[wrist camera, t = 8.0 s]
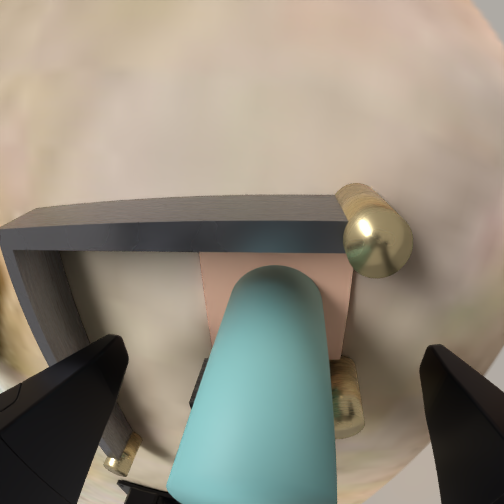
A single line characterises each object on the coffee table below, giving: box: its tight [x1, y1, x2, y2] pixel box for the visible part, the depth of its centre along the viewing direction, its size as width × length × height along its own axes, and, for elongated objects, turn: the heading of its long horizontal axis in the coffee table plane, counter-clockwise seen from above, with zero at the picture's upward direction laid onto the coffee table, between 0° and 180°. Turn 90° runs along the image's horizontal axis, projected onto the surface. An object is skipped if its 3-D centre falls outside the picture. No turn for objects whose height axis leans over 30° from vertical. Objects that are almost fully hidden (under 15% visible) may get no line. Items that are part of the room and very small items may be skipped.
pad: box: [199, 252, 353, 360], centre depth 11 cm, size 5×5×1 cm
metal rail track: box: [0, 183, 413, 477], centre depth 12 cm, size 16×14×3 cm
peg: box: [166, 265, 337, 504], centre depth 7 cm, size 3×3×7 cm
